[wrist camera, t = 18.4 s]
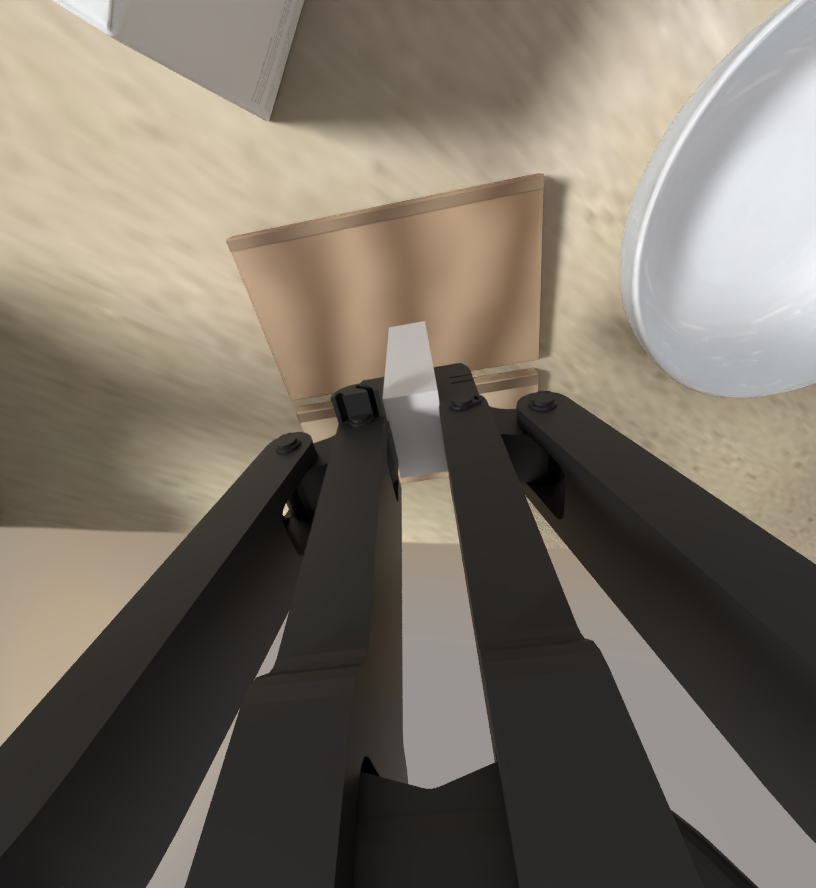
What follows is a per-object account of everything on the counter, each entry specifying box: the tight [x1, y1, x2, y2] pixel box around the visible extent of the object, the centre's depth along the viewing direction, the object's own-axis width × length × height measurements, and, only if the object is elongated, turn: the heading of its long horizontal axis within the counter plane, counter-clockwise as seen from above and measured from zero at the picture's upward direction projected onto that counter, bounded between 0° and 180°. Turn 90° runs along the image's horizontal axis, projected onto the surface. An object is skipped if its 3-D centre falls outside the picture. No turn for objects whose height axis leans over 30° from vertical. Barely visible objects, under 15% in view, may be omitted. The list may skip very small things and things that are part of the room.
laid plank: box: [297, 368, 539, 484], centre depth 35 cm, size 20×9×1 cm, turn 100°
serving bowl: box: [620, 0, 816, 398], centre depth 23 cm, size 21×21×7 cm
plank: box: [226, 173, 544, 400], centre depth 28 cm, size 20×12×1 cm, turn 100°
